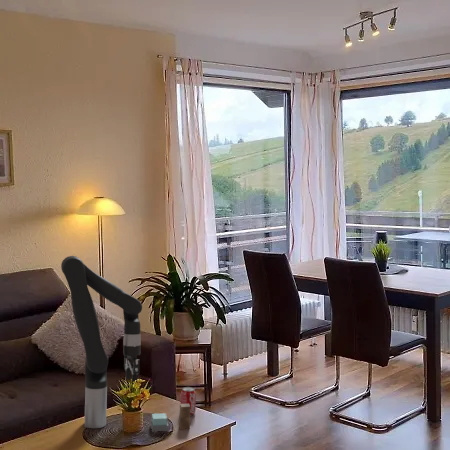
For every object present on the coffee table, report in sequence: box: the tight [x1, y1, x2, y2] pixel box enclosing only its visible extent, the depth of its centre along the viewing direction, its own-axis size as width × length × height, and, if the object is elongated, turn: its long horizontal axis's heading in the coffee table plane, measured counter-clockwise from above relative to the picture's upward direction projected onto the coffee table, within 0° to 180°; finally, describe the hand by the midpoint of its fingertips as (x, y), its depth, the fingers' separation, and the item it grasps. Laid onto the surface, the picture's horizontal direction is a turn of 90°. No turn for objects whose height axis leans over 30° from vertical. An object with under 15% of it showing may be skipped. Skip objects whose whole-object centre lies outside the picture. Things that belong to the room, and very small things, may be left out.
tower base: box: [150, 419, 170, 433], centre depth 291 cm, size 7×7×3 cm
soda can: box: [179, 386, 197, 417], centre depth 310 cm, size 7×7×12 cm
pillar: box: [178, 404, 191, 430], centre depth 293 cm, size 4×4×10 cm
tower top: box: [151, 412, 168, 426], centre depth 291 cm, size 6×6×3 cm
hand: (131, 381), depth 295 cm, fingers open, 8 cm apart
